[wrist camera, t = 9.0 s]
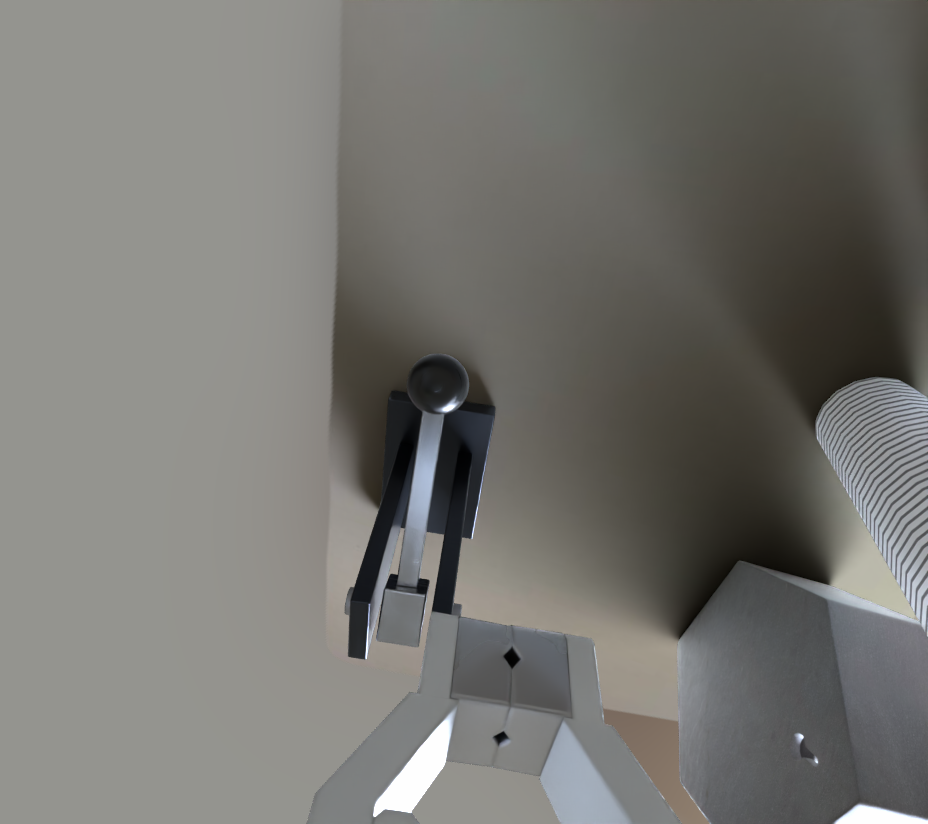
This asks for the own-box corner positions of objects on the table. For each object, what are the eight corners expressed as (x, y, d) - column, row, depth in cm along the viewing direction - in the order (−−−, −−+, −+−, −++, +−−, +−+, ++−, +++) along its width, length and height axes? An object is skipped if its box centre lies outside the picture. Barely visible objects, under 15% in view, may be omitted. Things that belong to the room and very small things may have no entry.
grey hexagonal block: (736, 763, 50) (958, 1004, 30) (650, 742, 50) (815, 971, 29) (788, 567, 51) (1041, 670, 30) (703, 544, 50) (901, 632, 30)
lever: (415, 350, 32) (408, 347, 29) (473, 359, 32) (473, 357, 29) (375, 618, 33) (364, 643, 30) (431, 627, 33) (427, 653, 30)
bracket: (391, 389, 40) (329, 548, 27) (495, 406, 40) (482, 572, 27) (382, 514, 46) (327, 692, 33) (473, 528, 45) (453, 712, 33)
